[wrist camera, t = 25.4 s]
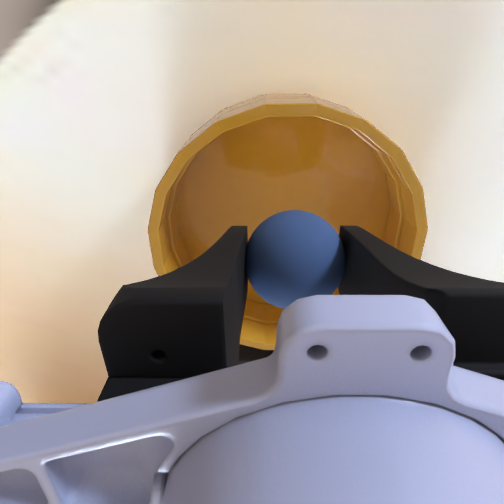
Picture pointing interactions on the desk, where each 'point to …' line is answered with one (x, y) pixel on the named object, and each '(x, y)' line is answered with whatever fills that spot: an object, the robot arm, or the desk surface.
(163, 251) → the bowl
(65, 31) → the desk surface
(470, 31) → the desk surface
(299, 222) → the slate-blue ball
